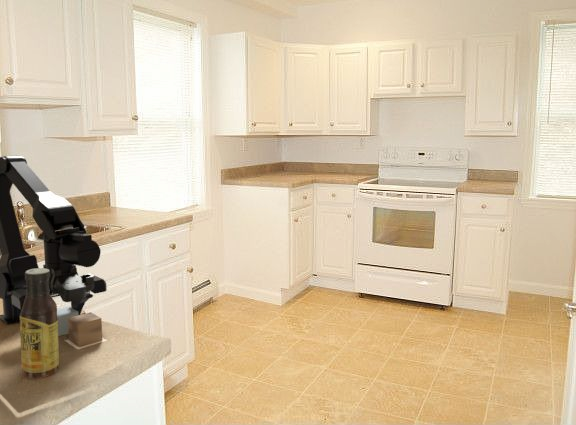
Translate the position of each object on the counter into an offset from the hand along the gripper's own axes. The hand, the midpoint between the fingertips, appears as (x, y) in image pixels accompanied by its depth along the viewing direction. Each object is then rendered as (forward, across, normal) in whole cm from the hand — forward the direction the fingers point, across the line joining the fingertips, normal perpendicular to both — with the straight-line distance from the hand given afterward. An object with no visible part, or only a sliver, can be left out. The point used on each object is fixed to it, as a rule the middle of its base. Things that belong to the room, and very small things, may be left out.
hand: (63, 328), depth 113 cm
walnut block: (0, +1, -9) cm, 9 cm away
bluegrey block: (+1, 0, 0) cm, 1 cm away
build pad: (+1, +1, -9) cm, 9 cm away
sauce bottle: (+1, -11, -17) cm, 20 cm away
